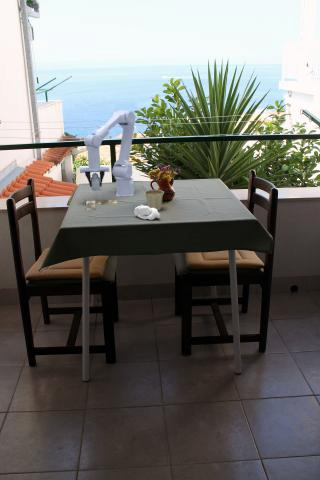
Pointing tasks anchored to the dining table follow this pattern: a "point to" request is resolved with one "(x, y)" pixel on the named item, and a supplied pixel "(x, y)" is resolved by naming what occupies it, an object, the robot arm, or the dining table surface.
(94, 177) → the pawn
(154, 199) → the flower pot
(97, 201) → the track
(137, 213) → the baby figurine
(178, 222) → the dining table surface
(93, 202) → the die
